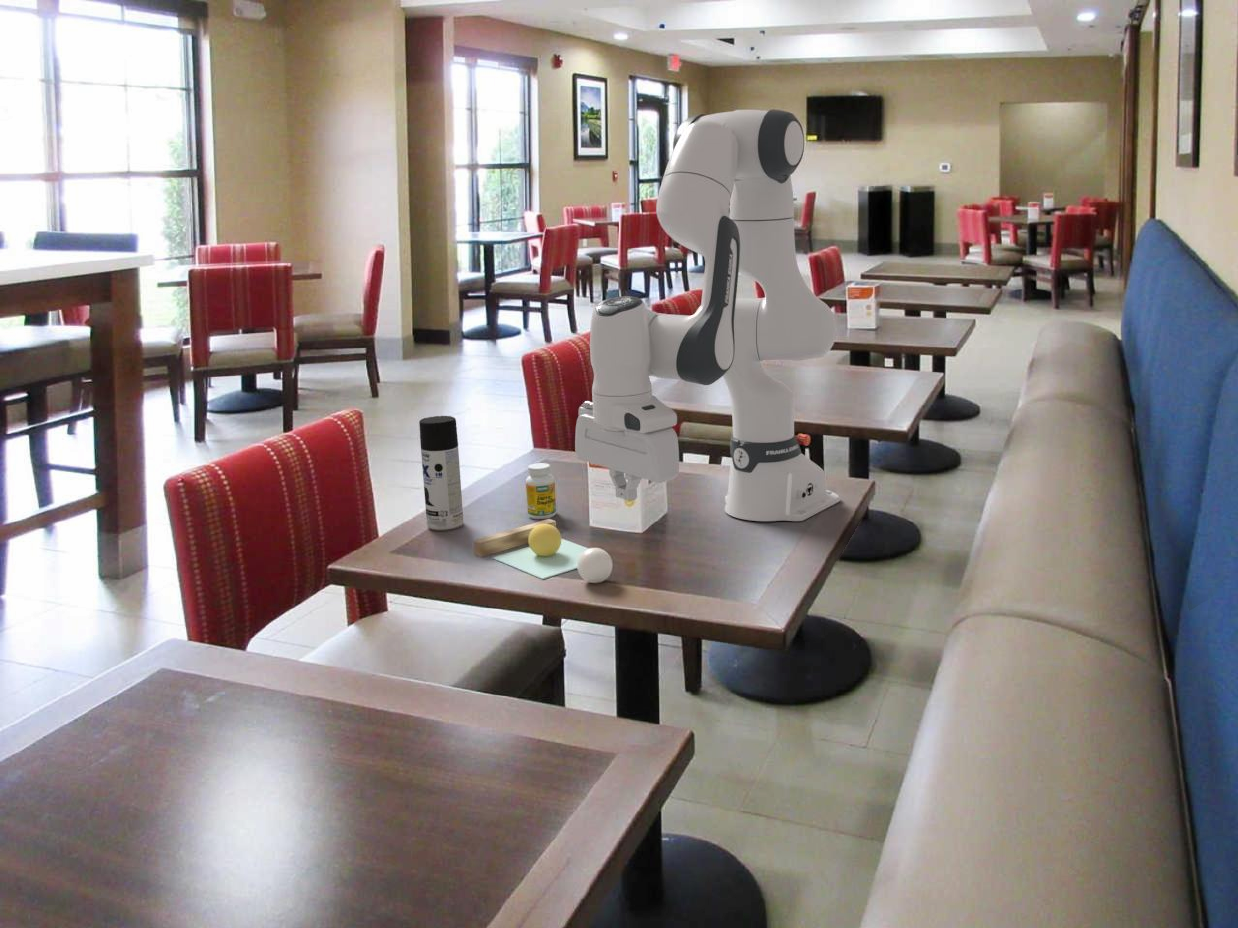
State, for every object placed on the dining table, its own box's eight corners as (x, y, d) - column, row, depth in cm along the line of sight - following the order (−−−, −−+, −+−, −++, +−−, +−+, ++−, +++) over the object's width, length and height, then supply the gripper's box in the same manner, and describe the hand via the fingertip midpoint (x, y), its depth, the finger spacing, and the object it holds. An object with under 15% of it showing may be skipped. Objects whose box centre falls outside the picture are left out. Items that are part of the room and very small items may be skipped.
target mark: (559, 538, 203) (558, 537, 203) (610, 557, 193) (610, 556, 193) (492, 558, 195) (492, 557, 195) (542, 579, 184) (542, 578, 184)
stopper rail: (549, 532, 207) (549, 518, 206) (556, 534, 205) (555, 521, 205) (474, 554, 197) (473, 540, 196) (480, 557, 196) (479, 543, 195)
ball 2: (616, 546, 180) (621, 572, 184) (588, 536, 183) (593, 562, 187) (596, 568, 177) (601, 594, 180) (567, 557, 180) (573, 583, 183)
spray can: (423, 523, 215) (414, 417, 209) (458, 517, 217) (450, 413, 212) (432, 533, 209) (423, 425, 203) (468, 527, 211) (460, 420, 206)
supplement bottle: (547, 509, 220) (544, 460, 218) (562, 515, 216) (559, 466, 213) (522, 514, 217) (519, 465, 215) (536, 521, 213) (533, 471, 211)
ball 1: (558, 514, 195) (572, 543, 193) (544, 529, 199) (558, 557, 197) (531, 522, 191) (545, 551, 190) (518, 536, 196) (531, 565, 194)
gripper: (562, 402, 177) (567, 489, 181) (652, 424, 162) (655, 518, 166) (595, 395, 181) (599, 480, 185) (685, 415, 166) (687, 507, 170)
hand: (626, 498), depth 175 cm, fingers closed
